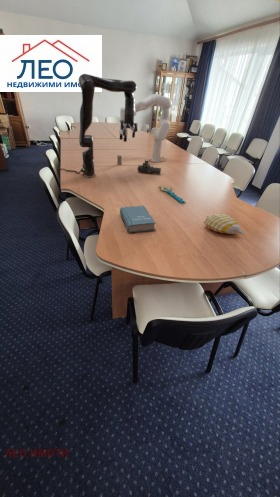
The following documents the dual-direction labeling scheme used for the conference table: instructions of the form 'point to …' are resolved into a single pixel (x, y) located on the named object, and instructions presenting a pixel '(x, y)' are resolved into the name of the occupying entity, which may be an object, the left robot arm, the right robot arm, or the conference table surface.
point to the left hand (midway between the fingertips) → (128, 136)
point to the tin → (119, 160)
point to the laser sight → (148, 168)
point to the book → (137, 219)
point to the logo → (171, 193)
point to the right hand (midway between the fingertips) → (123, 140)
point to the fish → (223, 224)
